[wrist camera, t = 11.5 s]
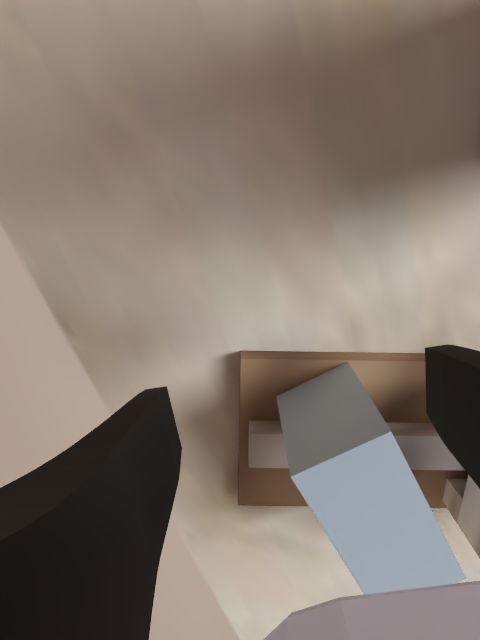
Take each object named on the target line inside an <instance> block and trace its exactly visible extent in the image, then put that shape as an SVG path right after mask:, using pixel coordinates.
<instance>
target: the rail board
mask: <svg viewBox="0 0 480 640" xmlns="http://www.w3.org/2000/svg"><path fill="white" fill-rule="evenodd" d="M346 362H348V363H349V364H350V366H351V367H352V369H353V371H354V372H355V374H356V376H357V377H358V379H359V380H360V382H361V384H362V385H363V387H364V388H365V390H366V392H367V393H368V395H369V396H370V398H371V400H372V401H373V403H374V404H375V406H376V408H377V409H378V411H379V412H380V414H381V416H382V417H383V419H384V421H385V422H386V424H387V425H388V427H389V429H390V430H391V432H392V434H393V436H394V438H395V440H396V442H397V444H398V446H399V448H400V449H401V451H402V453H403V455H404V457H405V459H406V461H407V463H408V465H409V467H410V469H411V471H412V473H413V475H414V477H415V479H416V481H417V483H418V485H419V487H420V489H421V491H422V493H423V495H424V497H425V499H426V501H427V503H428V504H429V506H430V508H448V510H449V512H450V513H451V515H452V516H453V518H454V519H455V521H456V522H457V524H458V525H459V527H460V529H461V530H462V532H463V533H464V535H465V536H466V538H467V539H468V541H469V542H470V544H471V545H472V547H473V549H474V550H475V552H476V553H477V555H478V556H479V558H480V488H479V487H478V486H477V485H476V483H475V482H474V481H473V480H472V478H471V477H470V476H469V475H468V474H467V472H466V471H465V470H464V469H463V467H462V466H461V465H460V463H459V462H458V461H457V460H456V458H455V457H454V456H453V455H452V453H451V452H450V451H449V449H448V448H447V447H446V446H445V444H444V443H443V441H442V440H441V438H440V436H439V435H438V433H437V431H436V430H435V428H434V426H433V424H432V423H431V421H430V419H429V417H428V415H427V414H426V372H425V354H412V353H345V352H279V351H241V364H240V416H239V468H238V505H259V506H309V505H308V504H307V502H306V501H305V499H304V498H303V496H302V494H301V493H300V491H299V490H298V488H297V486H296V485H295V483H294V482H293V480H292V478H291V476H290V471H289V465H288V460H287V454H286V448H285V443H284V437H283V431H282V426H281V420H280V415H279V409H278V403H277V398H276V397H277V396H279V395H281V394H283V393H285V392H287V391H289V390H291V389H293V388H295V387H297V386H299V385H301V384H303V383H305V382H307V381H309V380H311V379H313V378H315V377H317V376H319V375H322V374H324V373H326V372H328V371H330V370H332V369H334V368H336V367H338V366H340V365H342V364H344V363H346Z"/></svg>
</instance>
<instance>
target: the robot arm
mask: <svg viewBox="0 0 480 640" xmlns="http://www.w3.org/2000/svg"><path fill="white" fill-rule="evenodd" d="M425 372H426V414H427V415H428V417H429V419H430V421H431V423H432V424H433V426H434V428H435V430H436V431H437V433H438V435H439V436H440V438H441V440H442V441H443V443H444V444H445V446H446V447H447V448H448V449H449V451H450V452H451V453H452V455H453V456H454V457H455V458H456V460H457V461H458V462H459V463H460V465H461V466H462V467H463V469H464V470H465V471H466V472H467V474H468V475H469V476H470V477H471V478H472V480H473V481H474V482H475V483H476V485H477V486H478V487H479V488H480V351H476V350H472V349H468V348H464V347H460V346H455V345H442V346H435V347H428V348H425ZM181 450H182V447H181V443H180V439H179V435H178V431H177V427H176V423H175V419H174V415H173V410H172V406H171V402H170V398H169V394H168V390H167V386H166V387H160V388H153V389H146V390H144V391H142V392H141V393H139V394H138V395H137V396H135V397H134V398H133V399H131V400H130V401H129V402H128V403H126V404H125V405H124V406H123V407H122V408H120V409H119V410H118V411H117V412H115V413H114V414H113V415H112V416H111V417H109V418H108V419H107V420H106V421H104V422H103V423H102V424H101V425H99V426H98V427H97V428H95V429H94V430H93V431H91V432H90V433H89V434H87V435H86V436H85V437H83V438H82V439H81V440H79V441H78V442H77V443H75V444H74V445H72V446H71V447H70V448H68V449H67V450H65V451H64V452H62V453H61V454H59V455H58V456H56V457H55V458H53V459H52V460H50V461H48V462H46V463H45V464H43V465H42V466H40V467H38V468H37V469H35V470H33V471H31V472H30V473H28V474H26V475H24V476H22V477H20V478H18V479H17V480H15V481H13V482H11V483H9V484H7V485H5V486H3V487H2V488H0V640H148V639H149V631H150V623H151V614H152V606H153V599H154V592H155V585H156V577H157V571H158V566H159V561H160V556H161V552H162V548H163V543H164V539H165V535H166V531H167V527H168V523H169V519H170V515H171V510H172V506H173V502H174V498H175V494H176V489H177V485H178V480H179V472H180V462H181ZM264 640H480V581H474V582H465V583H457V584H449V585H440V586H432V587H424V588H416V589H407V590H399V591H391V592H382V593H374V594H366V595H358V596H349V597H341V598H336V599H333V600H330V601H327V602H324V603H321V604H318V605H315V606H312V607H308V608H305V609H302V610H299V611H296V612H293V613H291V614H290V615H289V616H288V617H287V618H286V619H285V620H284V621H283V622H282V623H281V624H280V625H279V626H277V627H276V628H275V629H274V630H273V631H272V632H271V633H270V634H269V635H268V636H267V637H266V638H265V639H264Z"/></svg>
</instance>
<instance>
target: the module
mask: <svg viewBox="0 0 480 640" xmlns="http://www.w3.org/2000/svg"><path fill="white" fill-rule="evenodd" d="M276 398H277V403H278V409H279V415H280V420H281V426H282V431H283V437H284V443H285V448H286V454H287V460H288V465H289V471H290V476H291V478H292V480H293V482H294V483H295V485H296V486H297V488H298V490H299V491H300V493H301V494H302V496H303V498H304V499H305V501H306V502H307V504H308V505H309V507H310V509H311V510H312V512H313V513H314V515H315V517H316V518H317V520H318V521H319V523H320V525H321V526H322V528H323V529H324V531H325V533H326V534H327V536H328V537H329V539H330V541H331V542H332V544H333V545H334V547H335V549H336V550H337V552H338V553H339V555H340V557H341V558H342V560H343V561H344V563H345V565H346V566H347V568H348V569H349V571H350V572H351V574H352V576H353V577H354V579H355V580H356V582H357V584H358V585H359V587H360V588H361V590H362V592H363V593H364V595H366V594H374V593H382V592H391V591H399V590H407V589H416V588H424V587H432V586H440V585H449V584H453V583H456V582H458V581H461V580H463V579H466V577H465V575H464V573H463V571H462V569H461V567H460V565H459V563H458V561H457V559H456V557H455V556H454V554H453V552H452V550H451V548H450V546H449V544H448V542H447V540H446V538H445V536H444V534H443V532H442V530H441V528H440V526H439V524H438V522H437V520H436V518H435V516H434V514H433V512H432V510H431V508H430V506H429V504H428V503H427V501H426V499H425V497H424V495H423V493H422V491H421V489H420V487H419V485H418V483H417V481H416V479H415V477H414V475H413V473H412V471H411V469H410V467H409V465H408V463H407V461H406V459H405V457H404V455H403V453H402V451H401V449H400V448H399V446H398V444H397V442H396V440H395V438H394V436H393V434H392V432H391V430H390V429H389V427H388V425H387V424H386V422H385V421H384V419H383V417H382V416H381V414H380V412H379V411H378V409H377V408H376V406H375V404H374V403H373V401H372V400H371V398H370V396H369V395H368V393H367V392H366V390H365V388H364V387H363V385H362V384H361V382H360V380H359V379H358V377H357V376H356V374H355V372H354V371H353V369H352V367H351V366H350V364H349V363H348V362H346V363H344V364H342V365H340V366H338V367H336V368H334V369H332V370H330V371H328V372H326V373H324V374H322V375H319V376H317V377H315V378H313V379H311V380H309V381H307V382H305V383H303V384H301V385H299V386H297V387H295V388H293V389H291V390H289V391H287V392H285V393H283V394H281V395H279V396H277V397H276Z"/></svg>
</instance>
